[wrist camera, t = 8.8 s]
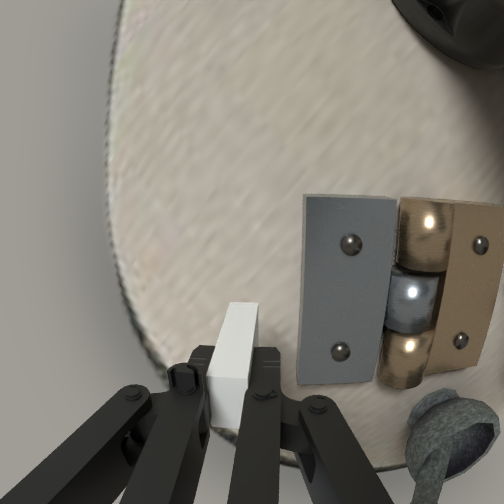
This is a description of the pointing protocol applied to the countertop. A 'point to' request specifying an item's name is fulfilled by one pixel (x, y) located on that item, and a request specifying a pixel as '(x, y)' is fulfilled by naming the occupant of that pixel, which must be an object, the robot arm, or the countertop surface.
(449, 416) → the mortar and pestle
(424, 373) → the fixed leaf
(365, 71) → the countertop surface
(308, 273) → the loose leaf
